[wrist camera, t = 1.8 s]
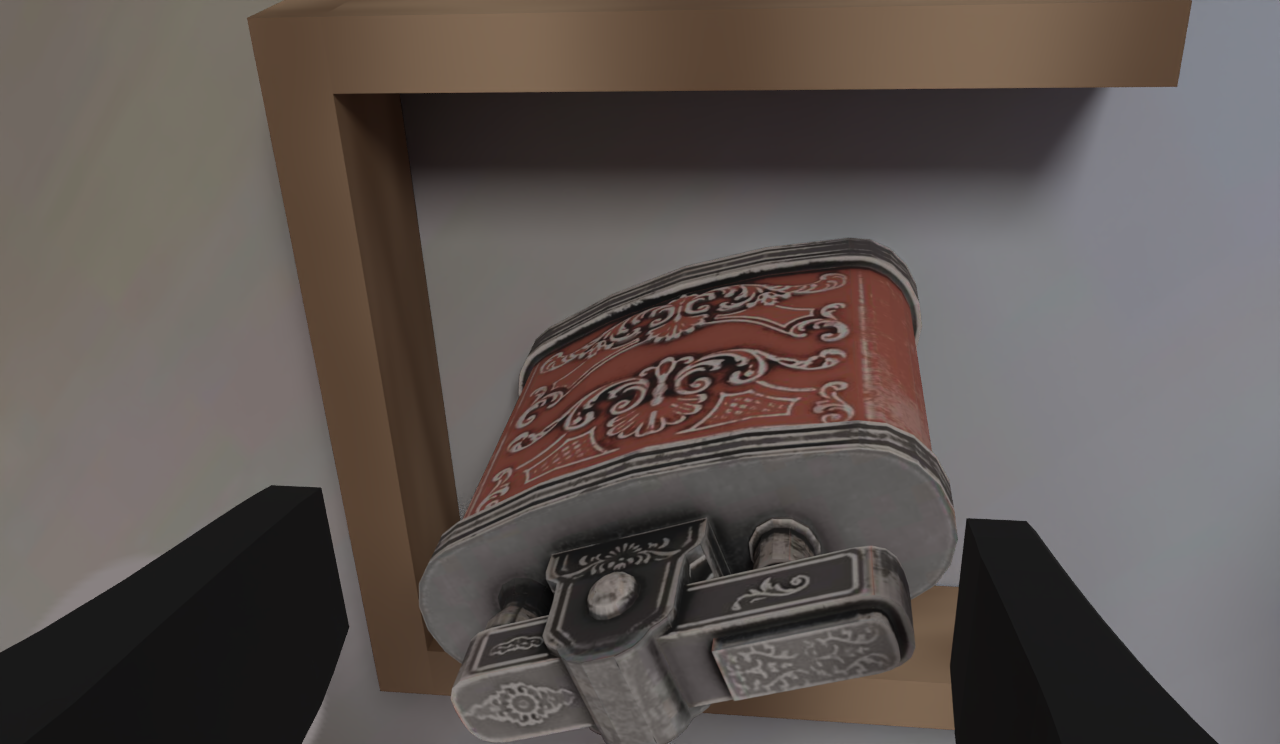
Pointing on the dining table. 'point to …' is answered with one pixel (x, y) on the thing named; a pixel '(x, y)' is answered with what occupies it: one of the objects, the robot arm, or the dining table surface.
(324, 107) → the wooden u-shaped frame
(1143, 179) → the dining table surface
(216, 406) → the dining table surface
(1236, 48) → the dining table surface
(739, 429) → the lighter
